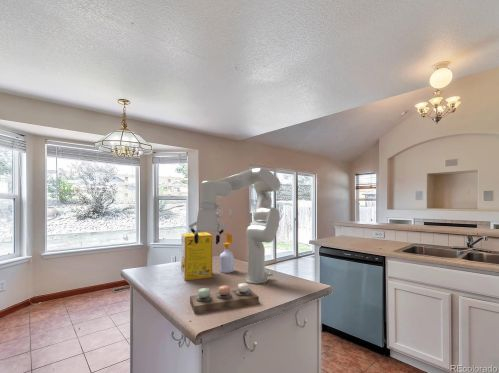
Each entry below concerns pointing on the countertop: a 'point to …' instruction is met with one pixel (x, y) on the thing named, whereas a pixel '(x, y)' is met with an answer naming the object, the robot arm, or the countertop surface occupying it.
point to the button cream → (243, 287)
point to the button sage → (204, 292)
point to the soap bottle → (227, 257)
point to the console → (223, 301)
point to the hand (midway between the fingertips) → (206, 243)
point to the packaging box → (196, 256)
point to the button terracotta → (224, 290)
